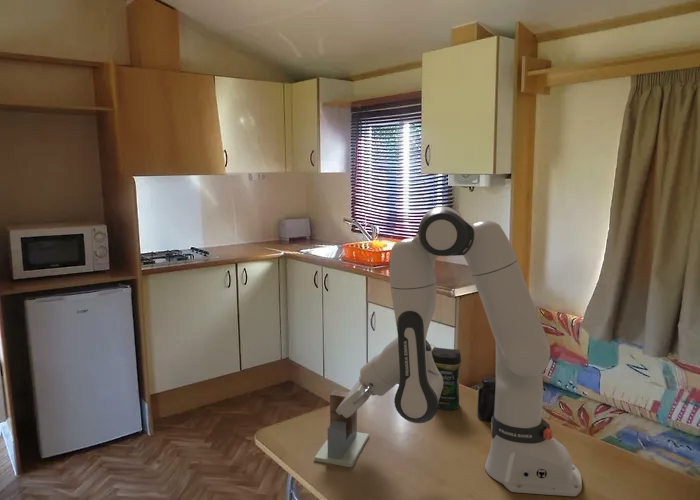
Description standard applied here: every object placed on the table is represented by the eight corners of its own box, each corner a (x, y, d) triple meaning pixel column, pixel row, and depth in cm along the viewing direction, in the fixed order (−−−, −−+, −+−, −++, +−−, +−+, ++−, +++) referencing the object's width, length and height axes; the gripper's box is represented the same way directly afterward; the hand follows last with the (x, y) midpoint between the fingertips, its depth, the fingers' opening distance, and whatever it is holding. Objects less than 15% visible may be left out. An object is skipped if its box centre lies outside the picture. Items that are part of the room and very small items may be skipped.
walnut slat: (355, 428, 145) (355, 393, 143) (351, 433, 142) (351, 397, 140) (334, 425, 147) (333, 390, 145) (330, 430, 144) (330, 394, 142)
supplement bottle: (501, 423, 159) (503, 384, 157) (477, 421, 161) (479, 382, 159) (499, 413, 166) (501, 375, 164) (476, 411, 167) (478, 374, 165)
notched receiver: (368, 437, 151) (369, 406, 150) (351, 467, 136) (351, 434, 135) (335, 431, 154) (335, 402, 153) (314, 460, 139) (314, 428, 138)
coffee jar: (427, 408, 169) (428, 351, 166) (430, 398, 176) (431, 343, 173) (458, 412, 166) (460, 354, 163) (460, 401, 174) (462, 346, 171)
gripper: (374, 404, 129) (335, 436, 133) (394, 372, 148) (359, 401, 153) (356, 383, 130) (318, 416, 134) (378, 355, 149) (344, 384, 153)
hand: (340, 408), depth 143 cm, fingers closed on walnut slat, 3 cm apart
